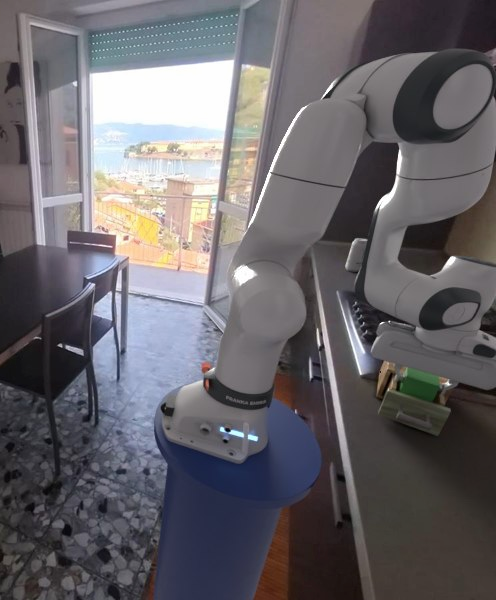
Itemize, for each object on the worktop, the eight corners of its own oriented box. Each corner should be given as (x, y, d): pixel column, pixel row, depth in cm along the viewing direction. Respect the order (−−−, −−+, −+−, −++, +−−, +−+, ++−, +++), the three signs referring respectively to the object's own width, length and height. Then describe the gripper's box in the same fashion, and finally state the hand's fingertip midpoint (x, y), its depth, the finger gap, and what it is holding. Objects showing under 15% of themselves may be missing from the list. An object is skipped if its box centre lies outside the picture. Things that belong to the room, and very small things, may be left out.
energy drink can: (357, 273, 167) (367, 242, 161) (342, 269, 171) (351, 239, 165) (361, 270, 171) (370, 239, 165) (346, 267, 175) (355, 237, 169)
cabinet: (438, 417, 82) (453, 387, 78) (376, 397, 88) (387, 368, 85) (435, 388, 91) (449, 360, 88) (379, 371, 98) (390, 344, 94)
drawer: (439, 450, 72) (452, 425, 69) (376, 427, 78) (386, 402, 75) (435, 404, 84) (446, 381, 81) (381, 387, 90) (390, 365, 87)
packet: (431, 403, 77) (440, 386, 75) (399, 392, 80) (406, 376, 78) (430, 392, 80) (438, 376, 78) (399, 382, 83) (406, 367, 81)
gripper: (380, 323, 77) (360, 375, 83) (517, 356, 65) (483, 414, 71) (381, 313, 81) (363, 363, 87) (510, 342, 70) (479, 398, 75)
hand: (418, 386), depth 79 cm, fingers closed on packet, 5 cm apart
